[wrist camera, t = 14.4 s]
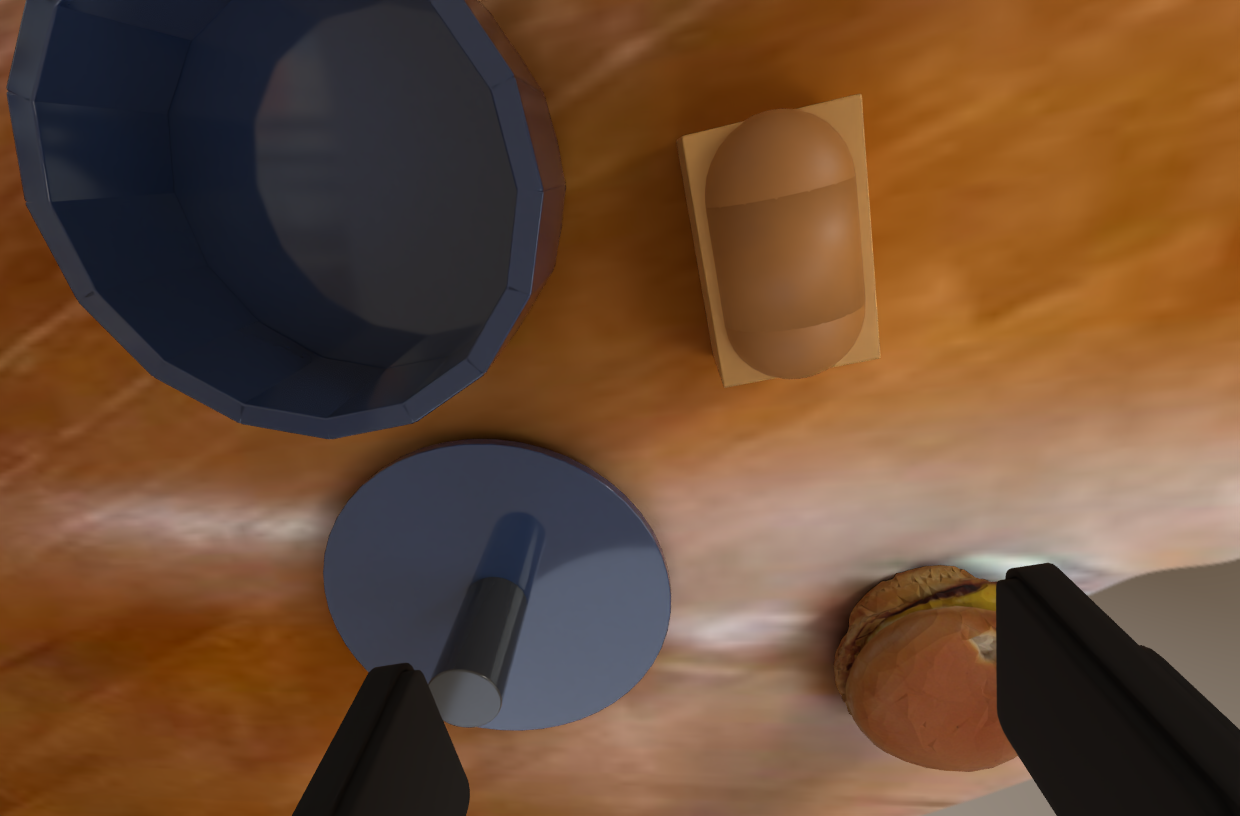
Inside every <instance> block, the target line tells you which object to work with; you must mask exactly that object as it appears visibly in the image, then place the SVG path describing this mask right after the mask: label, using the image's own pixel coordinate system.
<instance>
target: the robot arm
mask: <svg viewBox="0 0 1240 816" xmlns="http://www.w3.org/2000/svg"><path fill="white" fill-rule="evenodd" d="M996 678H997V715H998V719H999V722H1000V725H1001V727H1002V730H1003V732H1004V734H1005V736H1006V737H1007V739H1008V741H1009V742H1010V744H1011V745H1012V747H1013V748H1014V750H1015V751H1016V753H1017V755H1018V756H1019V758H1020V759H1021V761H1022V762H1023V764H1024V765H1025V767H1026V769H1027V770H1028V772H1029V773H1030V775H1031V776H1032V778H1033V779H1034V781H1035V783H1036V784H1037V786H1038V787H1039V789H1040V790H1041V792H1042V793H1043V795H1044V796H1045V798H1046V800H1047V801H1048V803H1049V804H1050V806H1051V807H1052V809H1053V810H1054V812H1055V814H1056V815H1057V816H1240V730H1239V729H1238V728H1237V727H1236V726H1235V725H1234V724H1233V723H1232V722H1231V721H1230V720H1229V719H1228V718H1227V717H1226V716H1224V715H1223V714H1222V713H1221V712H1220V711H1219V710H1218V709H1217V708H1216V707H1215V706H1214V705H1213V704H1212V703H1211V702H1209V701H1208V700H1207V699H1206V698H1205V697H1204V696H1203V695H1202V694H1201V693H1200V692H1199V691H1198V690H1197V689H1196V688H1194V687H1193V686H1192V685H1191V684H1190V683H1189V682H1188V681H1187V680H1186V679H1185V678H1184V677H1183V676H1181V674H1180V673H1179V672H1177V671H1176V670H1175V669H1174V668H1173V667H1172V666H1171V665H1170V664H1169V663H1168V662H1167V661H1166V660H1165V659H1164V658H1162V657H1161V656H1160V655H1159V654H1157V653H1156V652H1155V651H1153V650H1152V649H1150V648H1147V647H1145V646H1142V645H1138V644H1137V643H1136V642H1135V641H1134V640H1133V639H1132V638H1131V637H1130V636H1129V635H1128V634H1126V633H1125V631H1123V630H1122V629H1121V628H1120V627H1119V626H1118V625H1117V624H1116V623H1115V622H1114V621H1113V620H1112V619H1111V618H1110V617H1109V616H1108V615H1107V614H1106V613H1105V612H1104V611H1102V610H1101V609H1100V608H1099V607H1098V606H1097V605H1096V604H1095V603H1094V602H1093V601H1092V600H1091V599H1090V598H1089V597H1088V596H1087V595H1086V594H1085V593H1084V592H1083V591H1082V590H1081V589H1080V588H1079V587H1077V586H1076V585H1075V584H1074V583H1073V582H1072V581H1071V580H1070V579H1069V578H1068V577H1067V576H1066V575H1065V574H1064V573H1063V572H1062V571H1061V570H1060V569H1059V568H1057V567H1056V566H1055V565H1053V564H1050V563H1044V564H1037V565H1031V566H1024V567H1018V568H1012V569H1009V570H1008V571H1007V573H1006V579H1005V580H1000V581H998V582H997V584H996ZM469 798H470V789H469V783H468V779H467V777H466V775H465V772H464V770H463V767H462V765H461V763H460V760H459V758H458V755H457V753H456V751H455V748H454V746H453V743H452V741H451V739H450V736H449V734H448V731H447V729H446V727H445V724H444V722H443V719H442V717H441V715H440V712H439V710H438V707H437V705H436V703H435V700H434V698H433V695H432V693H431V691H430V688H429V686H428V684H427V681H426V679H425V676H424V674H423V673H422V672H421V671H420V670H414V669H413V667H412V665H410V664H409V663H399V664H393V665H386V666H380V667H375V668H373V669H372V670H371V671H370V672H369V673H368V675H367V677H366V679H365V680H364V682H363V684H362V686H361V688H360V690H359V692H358V693H357V695H356V697H355V699H354V701H353V703H352V705H351V707H350V708H349V710H348V712H347V714H346V716H345V718H344V720H343V721H342V723H341V725H340V727H339V729H338V731H337V733H336V734H335V736H334V738H333V740H332V742H331V744H330V746H329V747H328V749H327V751H326V753H325V755H324V757H323V759H322V760H321V762H320V764H319V766H318V768H317V770H316V772H315V774H314V775H313V777H312V779H311V781H310V783H309V785H308V787H307V788H306V790H305V792H304V794H303V796H302V798H301V800H300V801H299V803H298V805H297V807H296V809H295V811H294V813H293V814H292V816H466V813H467V810H468V805H469Z"/></svg>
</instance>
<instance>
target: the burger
mask: <svg viewBox="0 0 1240 816" xmlns="http://www.w3.org/2000/svg"><path fill="white" fill-rule="evenodd" d="M996 584H997V582H989V581H987V580H985V579H979V578H975V577H974V576H973V575H971V574H970V573H968V572H967V571H965V570H963V569H959V568H957V567H955V566H943V565H937V566H925V567H920V568H915V569H912V570H908V571H905V572H902V573H896V575H895V577H894V578H893V579H891V580H888V581H886V582H885V581H882V582H880V583H879V584H878V585H877V586H875V587H874V588H873V589H871V590H870V591H869V592H868V593H867V594H866V595H865V596H864V597H863V598H862V599H861V600H860V601H859V602H858V603H857V605H856V606H855V607H854V608H853V611H852V612H851V615H850V618H849V629H848V631H847V634H845V636H844V637H843V638H842V640H841V642H840V645H839V647H838V648H837V650H836V654H835V661H834V673H835V679H836V681H835V685H836V687H837V689H838V691H839V693H840V694H841V695H842V699H843V701H844V702H845V703H846V705H847V708H848V712H849V714H851V715H852V717H853V719H854V721H855V722H856V724H857V725H858V727H859V728H860V730H861V731H862V732H863V733H864V734H865V735H866V736H867V737H868V738H869V739H870V740H871V741H872V742H873V744H874V745H876V746H877V747H879V748H880V749H882V750H883V751H884V752H886V753H889V754H891V755H893V756H895V757H897V758H899V759H901V760H903V761H906V762H909V763H913V764H916V765H919V766H922V767H926V768H932V769H938V770H946V771H965V772H972V771H978V770H983V769H989V768H993V767H996V766H998V765H1000V764H1002V763H1005V762H1007V761H1009V760H1011V759H1013V758H1015V757H1017V756H1018V755H1017V753H1016V751H1015V750H1014V748H1013V747H1012V745H1011V744H1010V742H1009V741H1008V739H1007V737H1006V736H1005V734H1004V732H1003V730H1002V727H1001V725H1000V722H999V719H998V715H997V678H996Z"/></svg>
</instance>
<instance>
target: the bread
mask: <svg viewBox="0 0 1240 816" xmlns="http://www.w3.org/2000/svg"><path fill="white" fill-rule="evenodd" d="M676 144H677V149H678V155H679V161H680V167H681V172H682V178H683V184H684V190H685V196H686V201H687V207H688V213H689V219H690V225H691V230H692V236H693V242H694V248H695V253H696V259H697V265H698V271H699V277H700V282H701V288H702V294H703V300H704V306H705V311H706V317H707V323H708V329H709V335H710V340H711V346H712V352H713V356H714V359H715V362H716V365H717V368H718V371H719V374H720V377H721V380H722V383H723V386H724V388H726V387H732V386H737V385H742V384H747V383H753V382H758V381H763V380H769V379H774V378H782V379H800V378H806V377H810V376H814V375H816V374H819V373H821V372H823V371H825V370H827V369H829V368H832V367H837V366H842V365H848V364H853V363H858V362H863V361H869V360H874V359H879V358H880V357H881V356H880V343H879V329H878V315H877V301H876V287H875V273H874V260H873V246H872V232H871V218H870V204H869V191H868V177H867V163H866V149H865V135H864V121H863V108H862V95H861V94H856V95H852V96H848V97H843V98H839V99H835V100H831V101H827V102H823V103H818V104H814V105H810V106H806V107H802V108H797V109H784V108H782V109H775V110H768V111H765V112H762V113H759V114H756V115H753V116H751V117H749V118H748V119H746V120H744V121H743V122H739V123H735V124H730V125H726V126H722V127H718V128H714V129H710V130H705V131H701V132H697V133H693V134H689V135H684V136H682V137H680V138H679V139H677V140H676Z"/></svg>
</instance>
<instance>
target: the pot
mask: <svg viewBox="0 0 1240 816" xmlns="http://www.w3.org/2000/svg"><path fill="white" fill-rule="evenodd" d="M6 88H7V90H8V91H9V92H7V100H8V105H9V111H10V117H11V123H12V129H13V135H14V140H15V146H16V152H17V158H18V164H19V170H20V175H21V181H22V187H23V193H24V199H25V201H26V206H27V208H28V210H29V212H30V213H31V215H32V217H33V219H34V221H35V223H36V225H37V226H38V228H39V230H40V232H41V234H42V236H43V238H44V239H45V241H46V243H47V245H48V247H49V249H50V251H51V253H52V254H53V256H54V258H55V260H56V262H57V264H58V266H59V267H60V269H61V271H62V273H63V275H64V277H65V279H66V280H67V282H68V284H69V286H70V288H71V290H72V292H73V293H74V295H75V297H76V299H77V300H78V302H79V303H80V304H81V305H82V306H83V307H84V308H85V309H86V310H87V311H88V312H89V313H90V314H91V315H92V316H93V317H94V318H95V319H96V320H97V321H98V322H99V323H100V324H101V325H102V326H103V327H104V328H105V329H106V330H107V331H108V332H109V333H110V334H111V335H112V336H113V337H114V338H115V339H116V340H117V341H118V342H119V343H120V344H121V345H122V346H123V347H124V348H125V349H126V350H127V351H128V352H129V353H130V354H131V355H132V356H133V357H134V358H135V359H136V360H137V361H138V362H139V363H140V364H141V365H142V366H143V367H144V368H145V369H146V370H147V371H148V373H149V374H150V375H151V376H154V377H155V378H156V379H158V380H160V381H162V382H164V383H165V384H167V385H169V386H171V387H173V388H175V389H177V390H178V391H180V392H182V393H184V394H186V395H188V396H190V397H191V398H193V399H195V400H197V401H199V402H201V403H203V404H204V405H206V406H208V407H210V408H212V409H214V410H216V411H217V412H219V413H221V414H223V415H225V416H227V417H229V418H230V419H232V420H234V421H236V422H238V423H241V424H245V425H250V426H256V427H262V428H267V429H273V430H279V431H284V432H290V433H296V434H302V435H307V436H313V437H319V438H324V439H336V438H341V437H346V436H351V435H356V434H362V433H367V432H372V431H377V430H382V429H387V428H392V427H397V426H402V425H408V424H413V423H414V422H417V421H419V420H420V419H422V418H423V417H424V416H426V415H427V414H429V413H430V412H432V411H433V410H434V409H436V408H437V407H439V406H440V405H442V404H443V403H445V402H446V401H447V400H449V399H450V398H452V397H453V396H455V395H456V394H457V393H459V392H460V391H462V390H463V389H465V388H466V387H468V386H469V385H470V384H472V383H473V382H475V381H476V380H478V379H479V378H480V377H482V376H483V375H484V374H485V373H486V372H487V371H488V369H489V368H490V367H491V365H492V364H493V363H494V361H495V360H496V359H497V357H498V356H499V355H500V353H501V352H502V351H503V349H504V348H505V347H506V345H507V344H508V343H509V341H510V340H511V339H512V337H513V336H514V335H515V333H516V332H517V331H518V329H519V327H520V326H521V324H522V322H523V321H524V319H525V317H526V316H527V314H528V312H529V311H530V309H531V307H532V306H533V304H534V302H535V301H536V299H537V298H538V296H539V294H540V292H541V290H542V289H543V287H544V285H545V284H546V282H547V280H548V279H549V277H550V275H551V273H552V272H553V270H554V267H555V264H556V256H557V249H558V244H559V239H560V234H561V229H562V220H563V207H564V198H565V190H566V185H565V178H564V174H563V169H562V164H561V158H560V152H559V146H558V141H557V137H556V134H555V131H554V127H553V124H552V121H551V117H550V114H549V111H548V106H547V102H546V98H545V96H544V92H543V91H542V89H541V88H540V86H539V85H538V83H537V82H536V80H535V79H534V77H533V76H532V74H531V73H530V71H529V70H528V68H527V66H526V65H525V63H524V61H523V59H522V58H521V56H520V55H519V53H518V52H517V51H516V49H515V48H514V47H513V45H512V44H511V43H510V41H509V40H508V38H507V37H506V35H505V34H504V32H503V31H502V29H501V28H500V26H499V25H498V23H497V22H496V20H495V19H494V17H493V16H492V14H491V13H490V12H489V11H488V10H487V9H486V8H485V7H484V6H483V5H482V4H481V3H480V2H479V1H478V0H26V3H25V7H24V12H23V16H22V21H21V25H20V30H19V34H18V39H17V43H16V47H15V52H14V56H13V61H12V65H11V70H10V74H9V79H8V83H7V87H6Z"/></svg>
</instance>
